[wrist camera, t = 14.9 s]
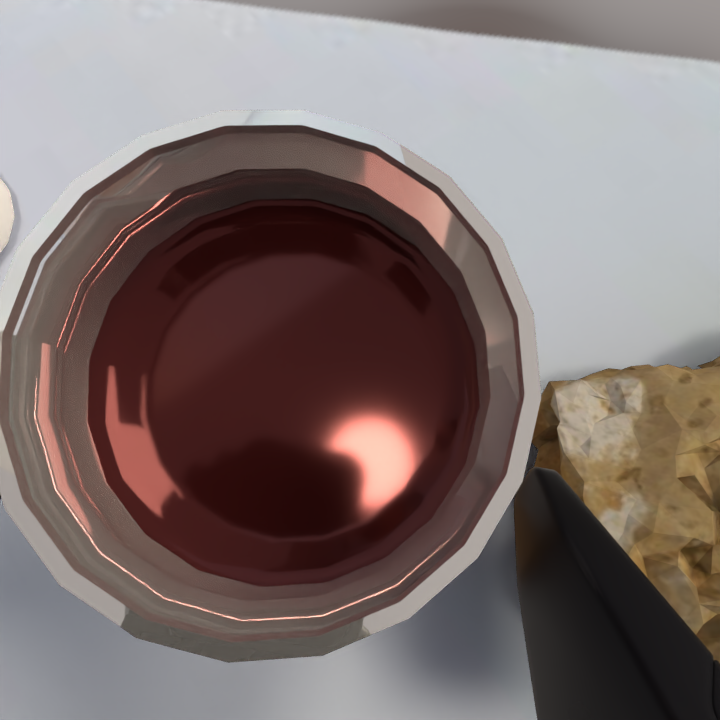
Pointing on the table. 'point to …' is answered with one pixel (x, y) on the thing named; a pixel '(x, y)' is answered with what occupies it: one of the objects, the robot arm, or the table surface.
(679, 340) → the table surface
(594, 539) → the robot arm
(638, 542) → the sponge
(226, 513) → the wineglass
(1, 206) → the lidless jar
